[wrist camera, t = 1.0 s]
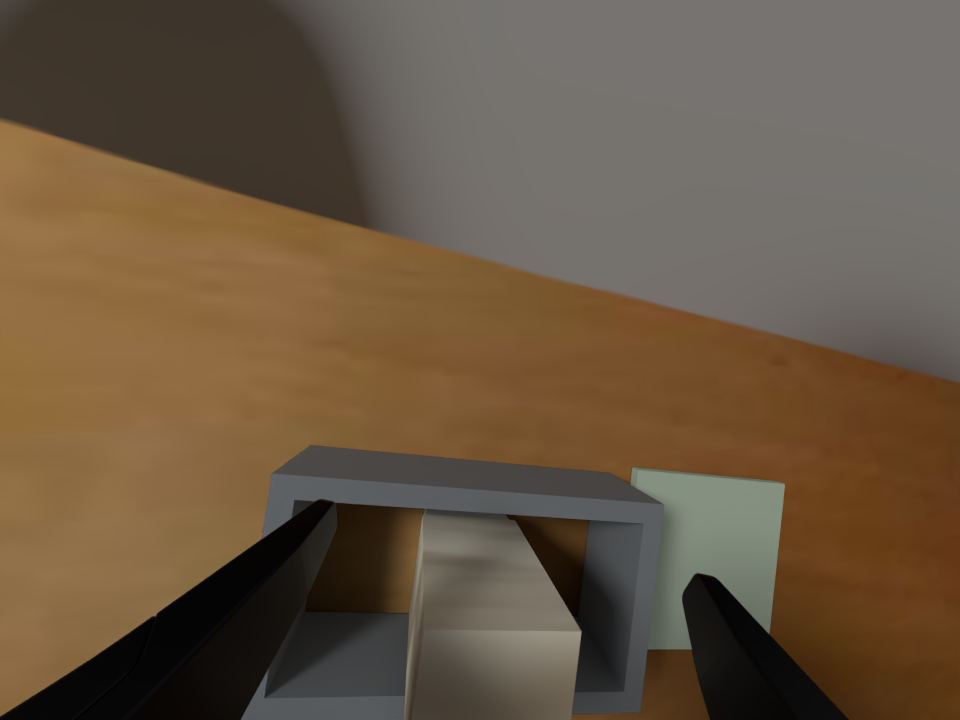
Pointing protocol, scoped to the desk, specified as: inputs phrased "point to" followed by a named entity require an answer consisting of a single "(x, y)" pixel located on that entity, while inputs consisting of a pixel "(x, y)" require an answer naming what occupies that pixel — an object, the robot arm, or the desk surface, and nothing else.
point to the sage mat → (712, 544)
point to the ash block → (486, 627)
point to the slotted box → (464, 493)
